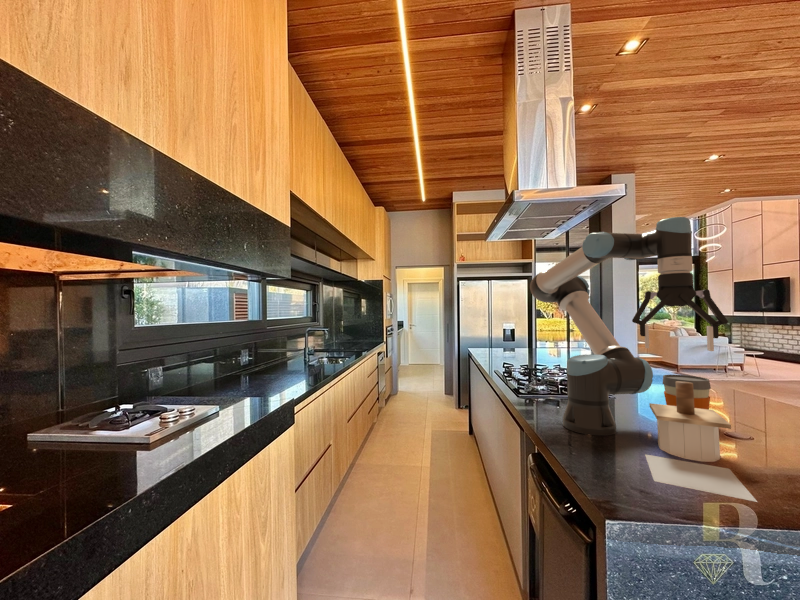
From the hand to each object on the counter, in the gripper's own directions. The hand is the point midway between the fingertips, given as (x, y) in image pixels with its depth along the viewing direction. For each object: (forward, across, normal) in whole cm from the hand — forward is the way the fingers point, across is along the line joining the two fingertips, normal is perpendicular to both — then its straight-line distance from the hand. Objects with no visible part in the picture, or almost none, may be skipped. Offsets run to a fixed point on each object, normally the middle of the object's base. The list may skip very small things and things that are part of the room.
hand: (677, 349), depth 91 cm
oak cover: (+18, +1, -3) cm, 18 cm away
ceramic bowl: (+27, +1, -3) cm, 27 cm away
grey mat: (+27, -1, -19) cm, 33 cm away
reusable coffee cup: (+28, +6, +30) cm, 41 cm away
